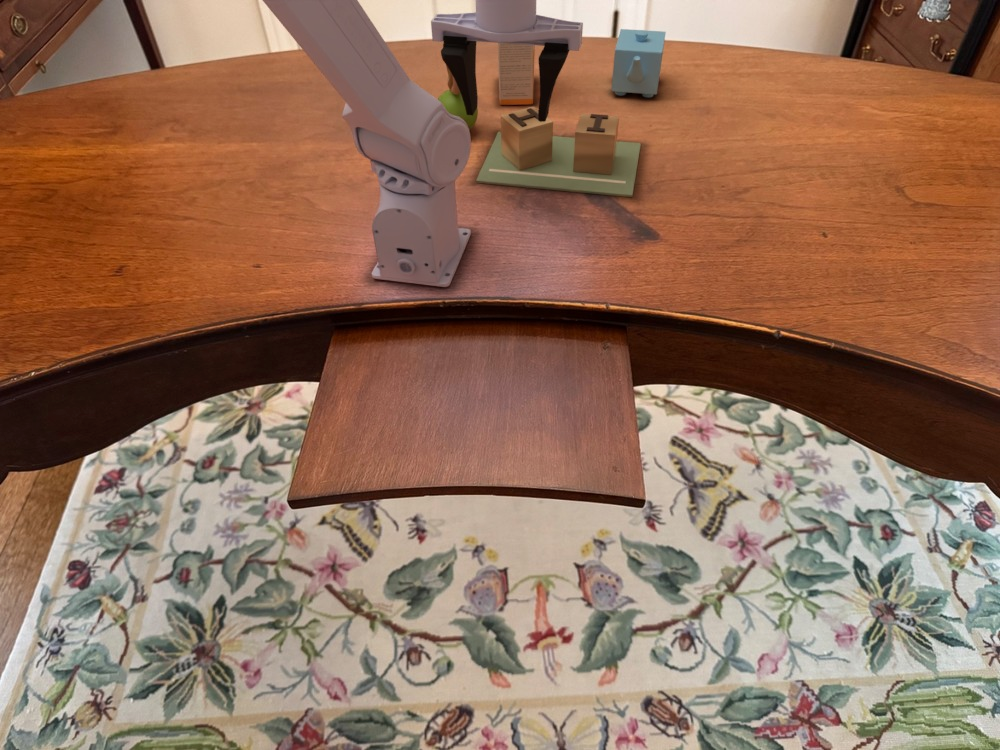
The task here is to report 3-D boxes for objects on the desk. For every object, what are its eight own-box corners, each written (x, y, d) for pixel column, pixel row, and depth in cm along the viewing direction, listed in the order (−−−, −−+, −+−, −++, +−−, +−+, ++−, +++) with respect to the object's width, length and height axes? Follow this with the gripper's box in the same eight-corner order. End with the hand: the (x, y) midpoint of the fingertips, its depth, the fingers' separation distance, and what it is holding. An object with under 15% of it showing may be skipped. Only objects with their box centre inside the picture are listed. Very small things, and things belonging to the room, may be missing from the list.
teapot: (653, 112, 94) (662, 54, 88) (607, 109, 95) (612, 51, 89) (659, 74, 102) (667, 18, 97) (617, 71, 103) (622, 16, 98)
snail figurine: (443, 149, 88) (434, 50, 80) (432, 125, 93) (423, 29, 84) (485, 142, 89) (481, 44, 81) (473, 119, 94) (467, 23, 85)
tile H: (552, 161, 85) (553, 119, 81) (519, 171, 84) (519, 129, 80) (533, 145, 88) (533, 104, 84) (501, 154, 87) (500, 113, 83)
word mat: (632, 197, 80) (632, 194, 80) (476, 182, 83) (476, 180, 83) (640, 145, 88) (641, 142, 88) (498, 133, 91) (498, 131, 91)
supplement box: (534, 105, 96) (535, 1, 87) (498, 106, 96) (496, 2, 87) (533, 79, 102) (534, -22, 92) (500, 79, 102) (497, -21, 93)
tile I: (611, 175, 83) (615, 133, 79) (572, 171, 83) (575, 130, 80) (615, 156, 86) (619, 114, 82) (578, 152, 86) (580, 111, 83)
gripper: (590, -40, 66) (581, 102, 76) (441, -46, 69) (450, 92, 79) (579, -15, 62) (571, 133, 71) (419, -23, 64) (432, 121, 74)
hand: (507, 114), depth 75 cm, fingers open, 7 cm apart
